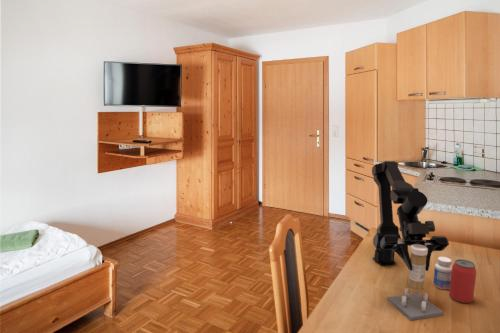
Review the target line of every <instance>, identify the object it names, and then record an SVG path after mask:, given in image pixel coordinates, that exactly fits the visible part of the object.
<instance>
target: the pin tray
mask: <svg viewBox="0 0 500 333" xmlns="http://www.w3.org/2000/svg"><path fill="white" fill-rule="evenodd" d="M387 301H388V302H389V303H390V304H391V305H392V306H394V307H395V308H396V309H397V310H398V311H399V312H400V313H402V315H403V316H405V317H406V318H407V319H408V320H409V321H417V320H422V319H427V318H434V317H441V316H444V311H443V310H441V309H440V308H439V307H437V306H436V305H434V304H433V303H432V302H431V301H429V293H428V292H424V293H423V295H421V294H420V293H419V292H415V293H410V289H409V288H408V287H405V288H404V294H400V295H395V296H394V295H393V296H388V297H387Z"/></svg>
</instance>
